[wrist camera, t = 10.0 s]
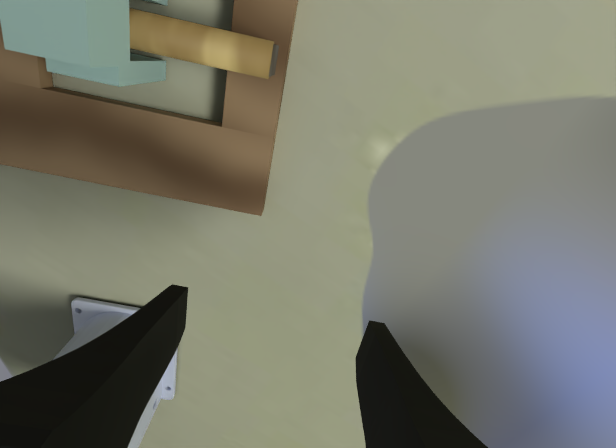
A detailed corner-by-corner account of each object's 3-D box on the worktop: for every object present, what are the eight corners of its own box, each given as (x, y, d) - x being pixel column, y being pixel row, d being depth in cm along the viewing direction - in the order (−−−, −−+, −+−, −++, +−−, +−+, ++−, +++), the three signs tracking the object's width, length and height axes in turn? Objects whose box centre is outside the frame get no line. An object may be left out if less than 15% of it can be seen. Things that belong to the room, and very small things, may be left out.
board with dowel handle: (263, 209, 23) (252, 240, 19) (-20, 153, 22) (-94, 173, 18) (324, -160, 15) (326, -235, 11) (-110, -279, 14) (-274, -408, 10)
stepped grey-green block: (165, 80, 19) (91, 90, 13) (111, 68, 19) (8, 73, 13) (167, -17, 17) (81, -61, 11) (107, -32, 17) (-17, -85, 11)
